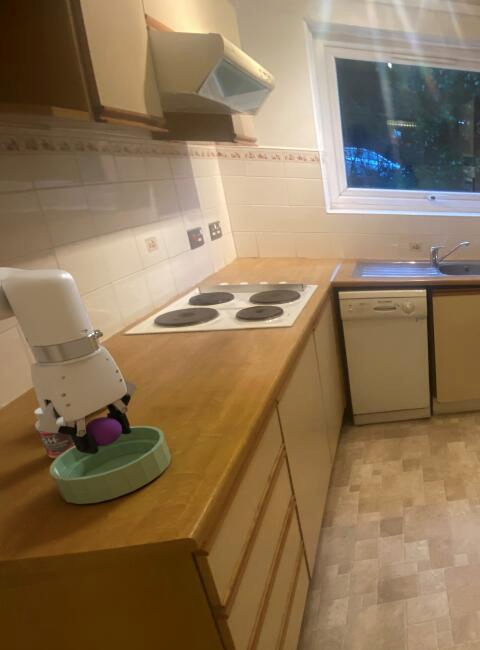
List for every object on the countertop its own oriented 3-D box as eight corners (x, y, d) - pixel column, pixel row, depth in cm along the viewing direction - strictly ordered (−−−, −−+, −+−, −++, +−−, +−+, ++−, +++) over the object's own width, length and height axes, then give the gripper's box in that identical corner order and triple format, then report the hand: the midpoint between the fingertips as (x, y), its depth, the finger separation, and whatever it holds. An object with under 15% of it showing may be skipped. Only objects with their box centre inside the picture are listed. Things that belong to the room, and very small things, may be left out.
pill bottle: (46, 463, 82) (25, 419, 78) (51, 448, 86) (31, 406, 82) (85, 452, 85) (66, 409, 81) (88, 439, 89) (70, 397, 85)
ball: (80, 450, 74) (69, 426, 72) (110, 433, 79) (100, 410, 77) (104, 453, 73) (94, 429, 72) (133, 436, 78) (124, 412, 76)
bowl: (37, 499, 73) (23, 473, 71) (126, 445, 87) (117, 421, 85) (112, 512, 71) (100, 485, 68) (191, 454, 84) (184, 430, 82)
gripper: (102, 327, 77) (136, 414, 84) (-21, 369, 62) (32, 471, 69) (138, 330, 76) (168, 418, 83) (21, 374, 61) (70, 477, 68)
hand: (106, 441), depth 76 cm, fingers closed on ball, 4 cm apart
